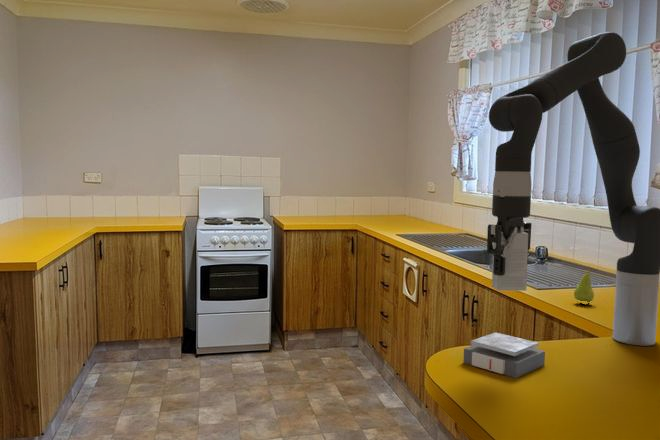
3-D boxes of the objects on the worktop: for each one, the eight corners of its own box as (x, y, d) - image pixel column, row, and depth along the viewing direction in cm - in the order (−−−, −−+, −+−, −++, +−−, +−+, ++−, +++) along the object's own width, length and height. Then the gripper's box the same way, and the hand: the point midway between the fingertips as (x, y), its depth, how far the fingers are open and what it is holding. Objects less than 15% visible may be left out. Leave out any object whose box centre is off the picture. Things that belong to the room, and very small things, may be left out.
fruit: (569, 303, 175) (571, 266, 175) (584, 302, 177) (586, 265, 176) (582, 307, 170) (584, 269, 169) (597, 306, 172) (599, 268, 171)
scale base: (493, 351, 123) (493, 338, 123) (544, 365, 114) (545, 351, 114) (460, 363, 114) (461, 349, 114) (513, 379, 105) (514, 364, 105)
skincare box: (518, 287, 115) (521, 231, 115) (526, 291, 111) (529, 233, 110) (490, 286, 115) (493, 230, 114) (497, 290, 111) (500, 232, 110)
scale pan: (495, 338, 121) (495, 332, 121) (538, 348, 114) (538, 342, 114) (470, 346, 114) (471, 340, 114) (514, 358, 107) (515, 352, 107)
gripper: (512, 193, 120) (509, 267, 121) (476, 193, 110) (473, 274, 111) (545, 194, 114) (541, 272, 115) (511, 194, 104) (507, 279, 105)
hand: (508, 272), depth 113 cm, fingers closed on skincare box, 7 cm apart
